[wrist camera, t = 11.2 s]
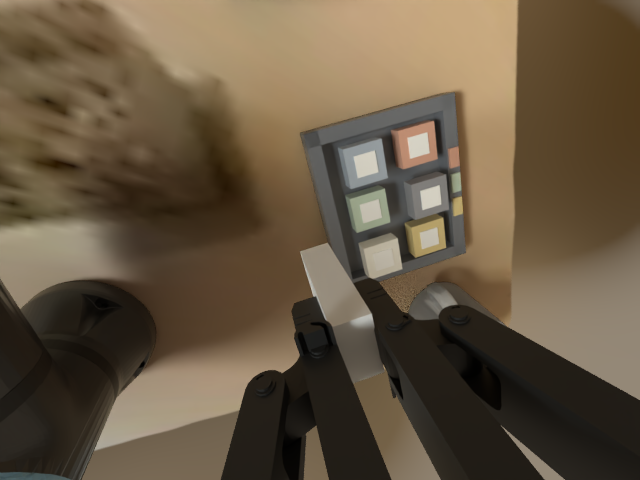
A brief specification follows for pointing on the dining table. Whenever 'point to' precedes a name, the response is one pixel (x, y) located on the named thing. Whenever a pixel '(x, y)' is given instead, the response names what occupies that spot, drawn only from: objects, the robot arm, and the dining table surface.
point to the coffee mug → (443, 301)
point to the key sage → (368, 208)
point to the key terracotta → (414, 144)
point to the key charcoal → (426, 195)
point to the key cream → (380, 255)
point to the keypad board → (386, 181)
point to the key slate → (363, 162)
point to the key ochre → (425, 235)
